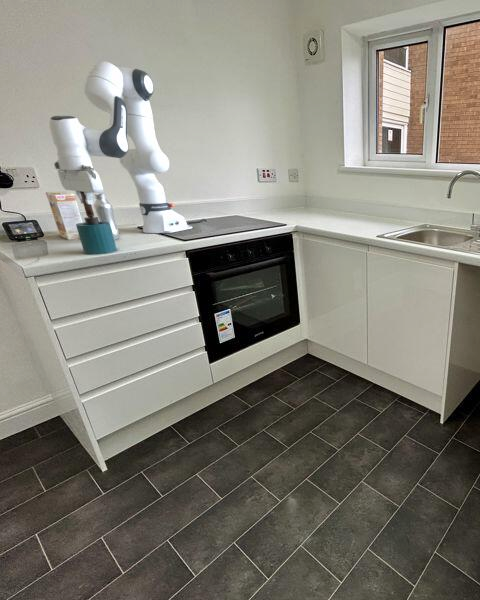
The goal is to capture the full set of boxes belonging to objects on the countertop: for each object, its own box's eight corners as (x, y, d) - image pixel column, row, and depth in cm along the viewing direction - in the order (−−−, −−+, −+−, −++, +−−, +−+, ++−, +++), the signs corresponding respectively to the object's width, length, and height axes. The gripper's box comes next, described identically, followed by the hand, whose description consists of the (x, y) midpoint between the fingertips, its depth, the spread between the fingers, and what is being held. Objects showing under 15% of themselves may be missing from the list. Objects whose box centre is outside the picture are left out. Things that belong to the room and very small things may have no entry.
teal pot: (107, 247, 145) (100, 220, 141) (122, 250, 142) (115, 223, 138) (79, 252, 137) (70, 223, 133) (93, 255, 133) (85, 226, 129)
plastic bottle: (109, 241, 155) (96, 195, 147) (99, 240, 157) (86, 194, 149) (124, 239, 160) (113, 194, 153) (114, 237, 162) (102, 193, 155)
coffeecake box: (59, 235, 164) (44, 191, 157) (78, 233, 169) (65, 191, 162) (67, 240, 155) (53, 194, 148) (88, 237, 161) (75, 193, 154)
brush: (97, 229, 139) (85, 186, 133) (103, 230, 137) (91, 187, 131) (85, 230, 135) (73, 187, 129) (91, 231, 134) (79, 187, 128)
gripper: (102, 166, 126) (112, 205, 131) (72, 164, 134) (82, 201, 139) (82, 165, 121) (93, 206, 126) (51, 163, 129) (62, 202, 134)
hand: (87, 203), depth 133 cm, fingers closed on brush, 2 cm apart
